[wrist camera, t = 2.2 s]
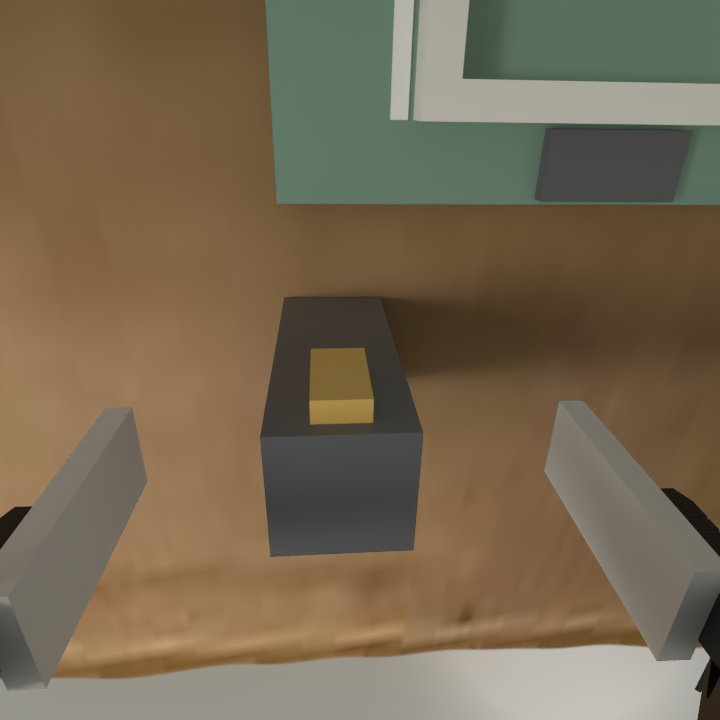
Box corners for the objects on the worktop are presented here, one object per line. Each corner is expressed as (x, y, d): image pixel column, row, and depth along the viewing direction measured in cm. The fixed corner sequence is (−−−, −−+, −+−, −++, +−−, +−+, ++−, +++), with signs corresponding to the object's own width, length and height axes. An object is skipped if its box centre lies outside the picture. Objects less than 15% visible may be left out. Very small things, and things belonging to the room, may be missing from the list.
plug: (288, 381, 23) (270, 556, 14) (283, 281, 21) (257, 412, 12) (377, 379, 23) (413, 549, 14) (380, 280, 21) (425, 408, 12)
